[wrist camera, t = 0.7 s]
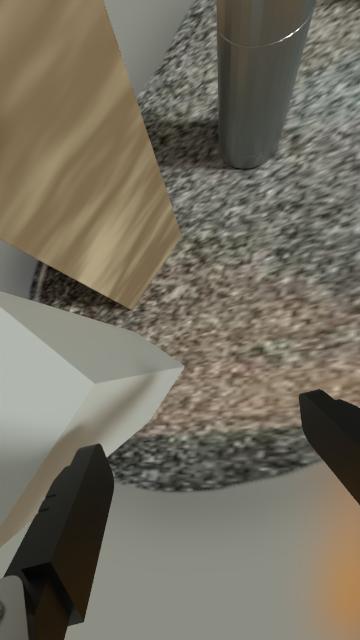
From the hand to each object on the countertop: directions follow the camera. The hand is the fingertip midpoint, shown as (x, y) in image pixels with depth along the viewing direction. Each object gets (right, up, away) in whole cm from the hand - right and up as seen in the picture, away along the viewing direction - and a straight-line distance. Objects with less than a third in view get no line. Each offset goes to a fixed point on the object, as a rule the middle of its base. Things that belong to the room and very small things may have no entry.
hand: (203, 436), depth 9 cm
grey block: (-6, -3, +24) cm, 25 cm away
